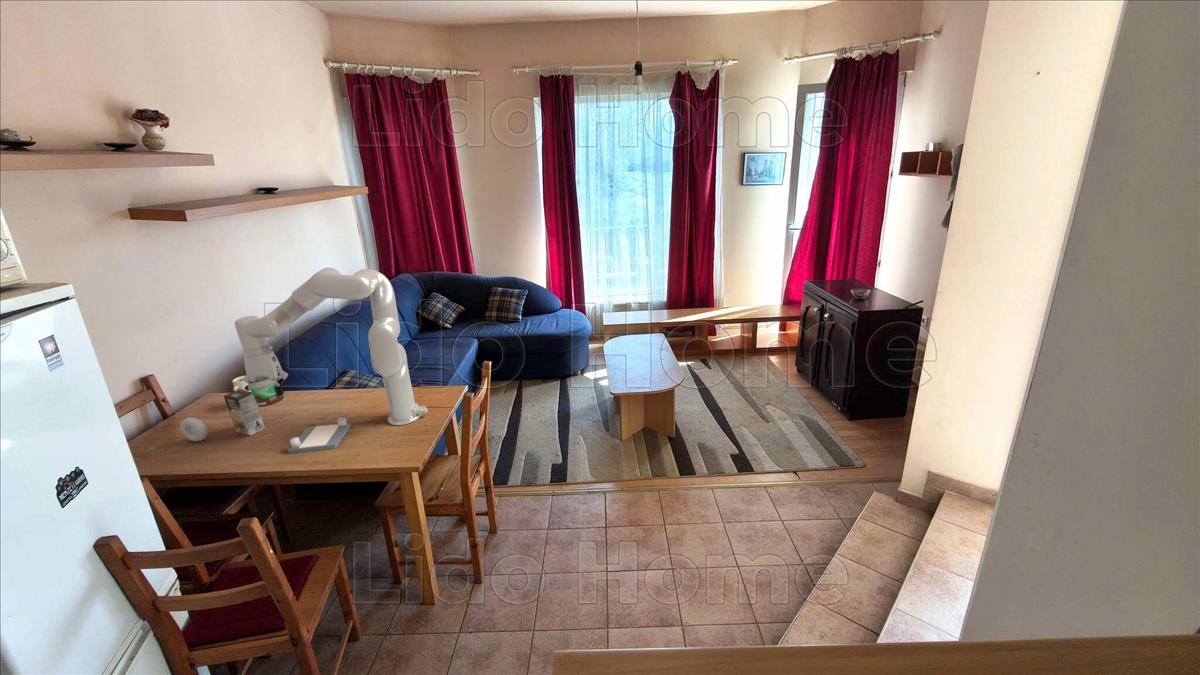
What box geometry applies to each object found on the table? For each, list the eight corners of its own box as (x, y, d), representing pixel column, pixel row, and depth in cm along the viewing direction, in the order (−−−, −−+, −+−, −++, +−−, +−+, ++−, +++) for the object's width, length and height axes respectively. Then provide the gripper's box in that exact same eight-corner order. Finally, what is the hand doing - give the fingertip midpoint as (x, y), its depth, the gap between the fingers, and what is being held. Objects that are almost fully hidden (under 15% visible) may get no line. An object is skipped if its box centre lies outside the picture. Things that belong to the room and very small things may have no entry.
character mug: (249, 411, 210) (239, 383, 206) (234, 411, 211) (224, 384, 207) (267, 399, 220) (259, 373, 216) (253, 399, 221) (244, 373, 217)
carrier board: (351, 426, 193) (348, 415, 191) (335, 448, 178) (332, 437, 176) (308, 430, 191) (305, 420, 190) (289, 453, 176) (285, 442, 175)
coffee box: (235, 432, 194) (222, 395, 188) (251, 424, 199) (239, 388, 194) (249, 436, 190) (236, 399, 184) (266, 428, 195) (254, 391, 190)
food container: (270, 409, 177) (261, 384, 174) (255, 408, 178) (246, 383, 175) (295, 393, 189) (287, 369, 185) (281, 393, 190) (273, 369, 186)
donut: (183, 442, 188) (173, 419, 185) (191, 437, 192) (182, 415, 188) (205, 443, 187) (196, 420, 183) (213, 439, 190) (204, 416, 186)
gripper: (287, 344, 181) (300, 388, 187) (237, 349, 179) (252, 394, 185) (277, 351, 174) (291, 397, 180) (225, 357, 172) (241, 403, 178)
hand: (271, 395), depth 183 cm, fingers closed on food container, 5 cm apart
